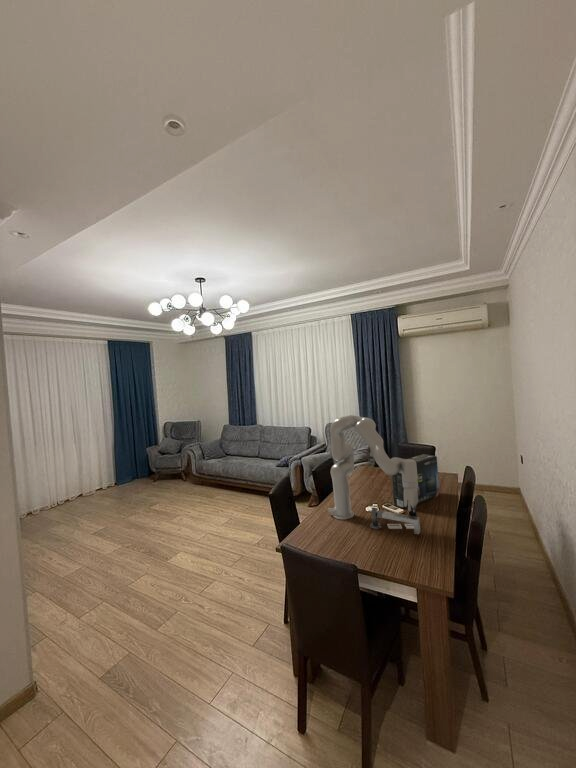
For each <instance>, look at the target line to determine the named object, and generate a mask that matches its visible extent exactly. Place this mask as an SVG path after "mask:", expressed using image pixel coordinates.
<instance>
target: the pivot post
mask: <svg viewBox="0 0 576 768" xmlns="http://www.w3.org/2000/svg"><path fill="white" fill-rule="evenodd" d="M377 513H378V508H377V507H375V506H373V507H371V519H372V522H371V523H370V524H369V528H370V529H372V530H380V529H382V524H381V523H379V518H377Z"/></svg>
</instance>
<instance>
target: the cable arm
mask: <svg viewBox="0 0 576 768" xmlns="http://www.w3.org/2000/svg"><path fill="white" fill-rule="evenodd" d="M377 518H378V519H385V520H392V521H397V522H402V523H403V522H404V523H406V524H414V529H413V534H415V535H419V534H420V533H421V523H420V517H419V516H417V517H415V516H409V515H408V514H402V513H397V512H391V511H384V510H382V509H379V510H377Z"/></svg>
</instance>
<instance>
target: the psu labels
mask: <svg viewBox="0 0 576 768" xmlns="http://www.w3.org/2000/svg"><path fill="white" fill-rule="evenodd" d="M404 527H405V529H406V530H414V524H413V523H404ZM387 528H388V529H389V530H402V529H403V526H402V524H401V523H387Z"/></svg>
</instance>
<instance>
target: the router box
mask: <svg viewBox="0 0 576 768" xmlns="http://www.w3.org/2000/svg"><path fill="white" fill-rule="evenodd" d="M407 459H412V460H414V461H416V465H417V478H418V488H417V492H418V503H417V505H416V507H417V506H419V505H421V504H424V503H426V502H428V501H431V500H433V499H434V497H435V498H437V496H438V497H440V487H439V483H440V482H439V472H438V457H437V456H436V455H431V454H426V453H425V454H424V453H422V454H420V455H415V456H412V457H409V458H407ZM391 481H392V483H391V484H392V485H391V486H392V499H393V503H392V504H393V506H396V507H398V508H401V509H405V510H408V505H407V506H406V507H404V487H403V482H402V472H401V471H400V472H398V473H396V474H395V475H392V476H391Z"/></svg>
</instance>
